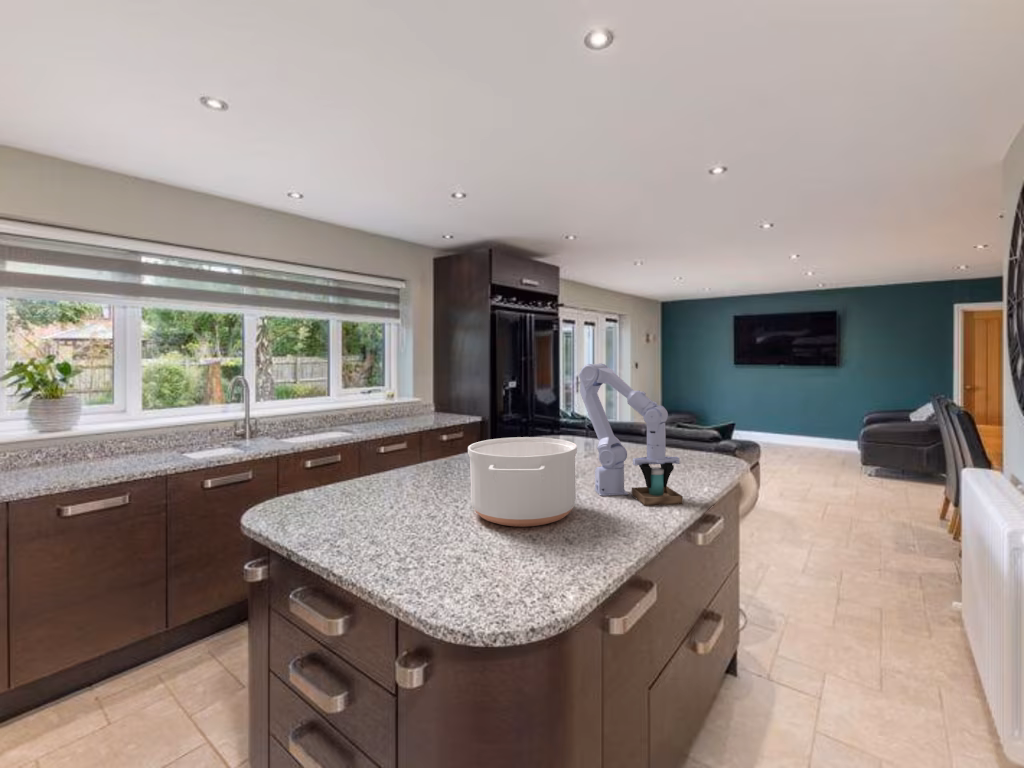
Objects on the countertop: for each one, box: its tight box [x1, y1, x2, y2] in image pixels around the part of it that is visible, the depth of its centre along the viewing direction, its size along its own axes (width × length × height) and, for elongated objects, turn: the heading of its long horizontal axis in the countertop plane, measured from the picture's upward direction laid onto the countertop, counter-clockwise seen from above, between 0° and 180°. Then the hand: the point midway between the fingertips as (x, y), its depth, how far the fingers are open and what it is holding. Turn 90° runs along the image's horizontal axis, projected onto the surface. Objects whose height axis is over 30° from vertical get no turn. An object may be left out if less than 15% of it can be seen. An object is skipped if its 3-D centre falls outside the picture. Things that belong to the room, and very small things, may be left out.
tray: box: [631, 486, 684, 507], centre depth 155 cm, size 12×12×2 cm
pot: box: [467, 436, 578, 528], centre depth 143 cm, size 42×32×20 cm
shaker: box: [649, 466, 664, 496], centre depth 155 cm, size 5×5×8 cm
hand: (656, 486), depth 155 cm, fingers closed on shaker, 4 cm apart
